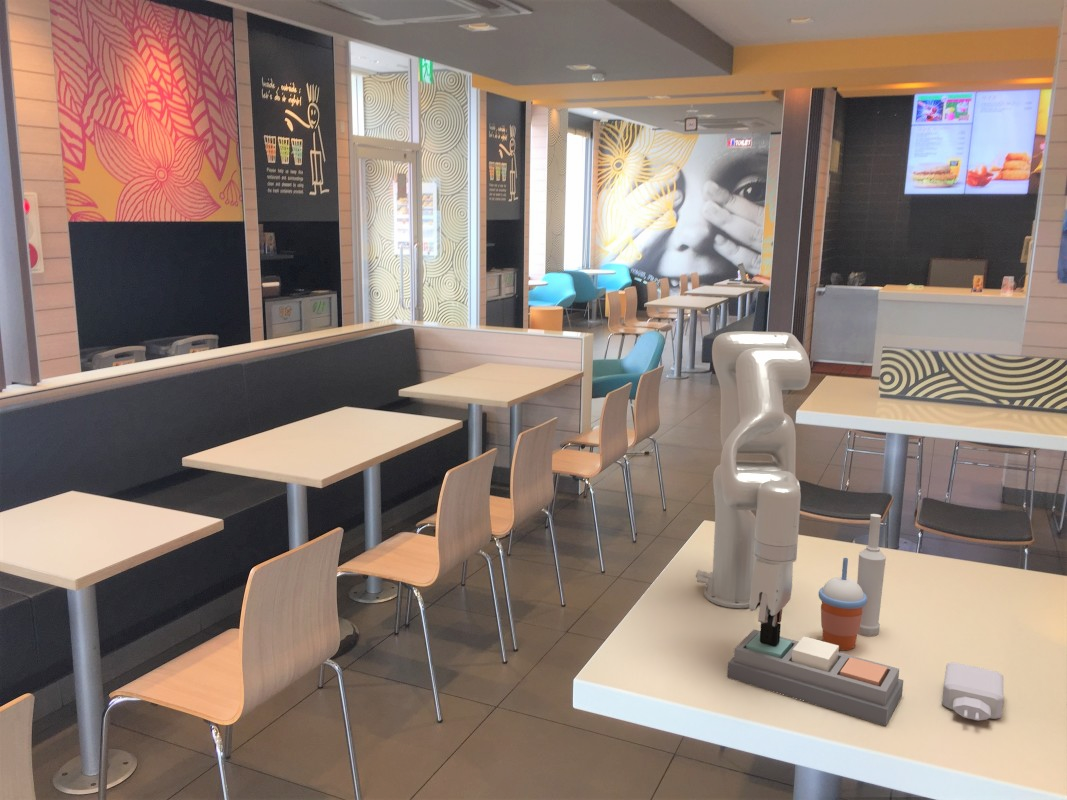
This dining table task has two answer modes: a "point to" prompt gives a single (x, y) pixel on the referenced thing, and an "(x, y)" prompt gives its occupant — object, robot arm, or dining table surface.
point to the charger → (973, 691)
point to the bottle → (871, 579)
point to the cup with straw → (841, 610)
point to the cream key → (815, 654)
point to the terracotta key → (864, 671)
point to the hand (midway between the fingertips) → (769, 642)
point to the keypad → (817, 682)
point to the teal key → (770, 647)
